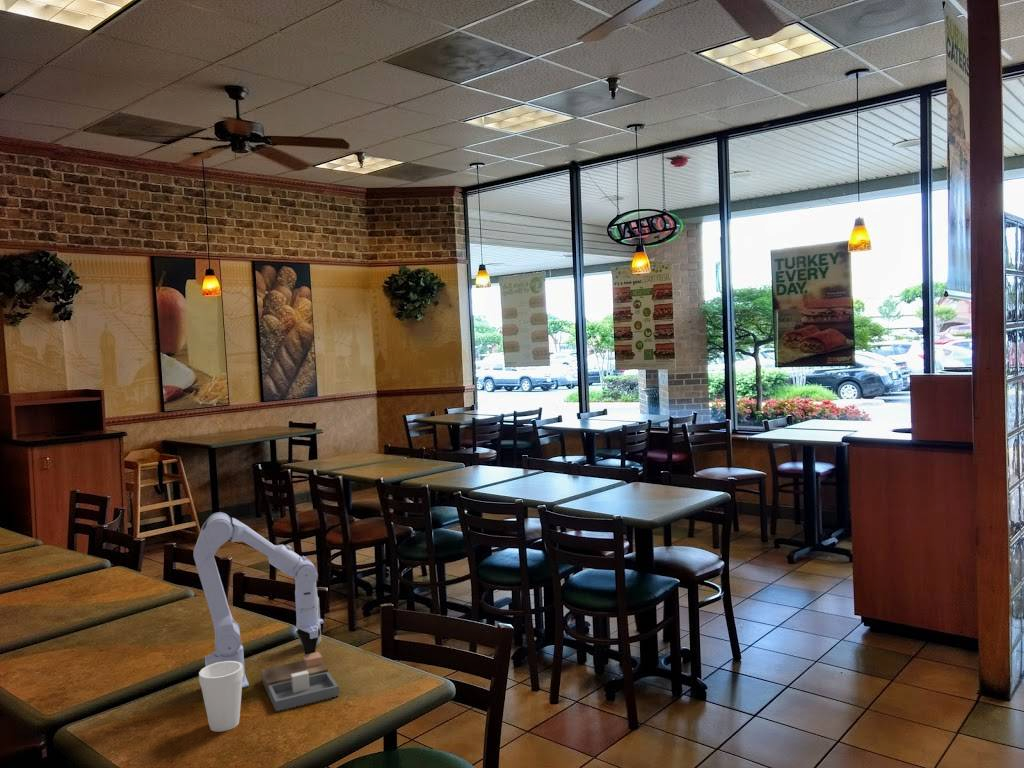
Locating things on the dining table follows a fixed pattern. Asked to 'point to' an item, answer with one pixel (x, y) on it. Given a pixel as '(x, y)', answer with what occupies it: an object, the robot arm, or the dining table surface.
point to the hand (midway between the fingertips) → (309, 656)
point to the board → (288, 672)
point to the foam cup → (222, 693)
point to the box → (303, 692)
